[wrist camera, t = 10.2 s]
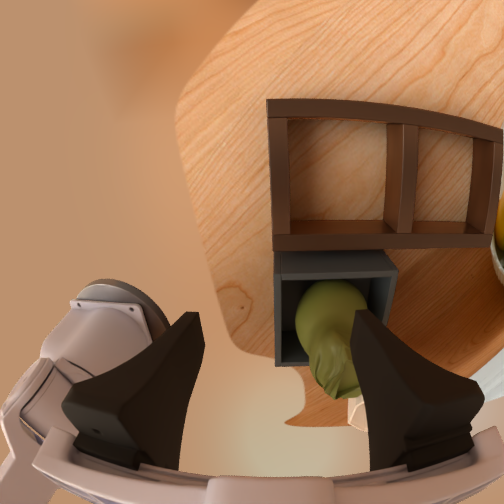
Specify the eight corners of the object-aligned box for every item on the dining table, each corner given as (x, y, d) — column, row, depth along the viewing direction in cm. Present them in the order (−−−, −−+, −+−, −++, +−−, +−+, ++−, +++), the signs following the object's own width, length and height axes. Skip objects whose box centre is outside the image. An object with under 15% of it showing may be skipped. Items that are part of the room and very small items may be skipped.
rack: (472, 234, 20) (490, 247, 18) (273, 235, 22) (272, 252, 19) (482, 126, 16) (503, 129, 14) (267, 103, 18) (266, 98, 15)
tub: (275, 331, 26) (274, 367, 22) (274, 245, 22) (273, 274, 18) (364, 327, 25) (376, 360, 21) (378, 243, 22) (399, 270, 17)
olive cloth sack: (281, 301, 24) (282, 398, 15) (322, 253, 22) (349, 341, 12) (331, 329, 25) (349, 422, 15) (371, 288, 23) (412, 375, 13)
